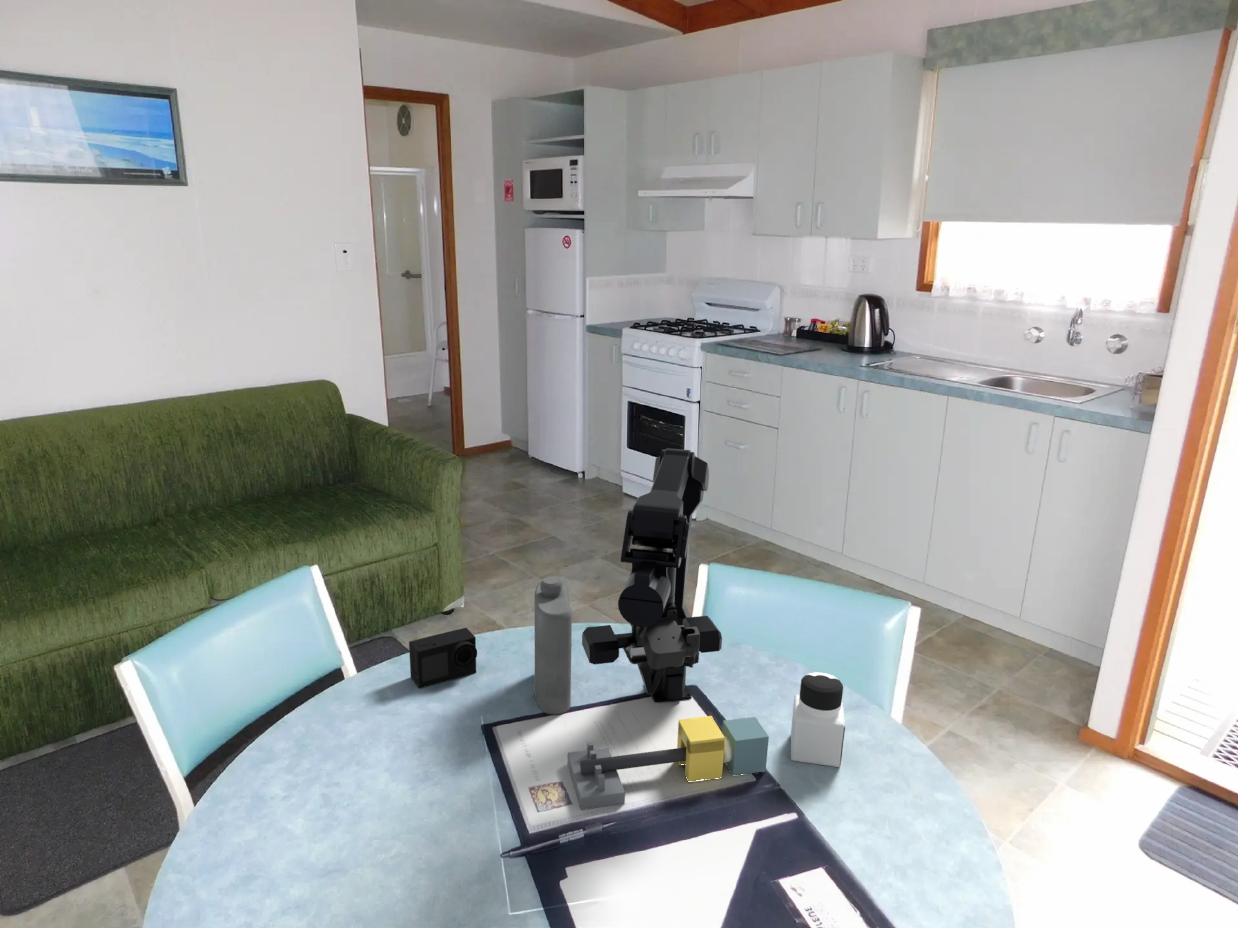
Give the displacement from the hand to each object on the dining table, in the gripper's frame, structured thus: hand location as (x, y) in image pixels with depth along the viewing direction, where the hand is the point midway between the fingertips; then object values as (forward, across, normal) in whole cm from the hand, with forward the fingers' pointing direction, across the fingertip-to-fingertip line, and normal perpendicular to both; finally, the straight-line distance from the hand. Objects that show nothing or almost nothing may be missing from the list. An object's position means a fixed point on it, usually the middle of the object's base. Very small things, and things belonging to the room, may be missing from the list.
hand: (649, 692), depth 116 cm
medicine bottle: (+12, +26, -2) cm, 28 cm away
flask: (+12, -10, +22) cm, 27 cm away
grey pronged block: (+12, -8, -3) cm, 15 cm away
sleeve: (+11, +7, -3) cm, 14 cm away
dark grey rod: (+12, +3, -3) cm, 12 cm away
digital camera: (+12, -28, +30) cm, 42 cm away
